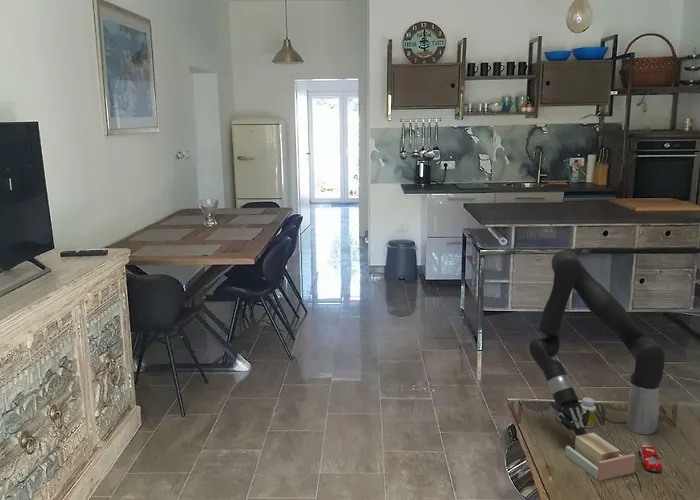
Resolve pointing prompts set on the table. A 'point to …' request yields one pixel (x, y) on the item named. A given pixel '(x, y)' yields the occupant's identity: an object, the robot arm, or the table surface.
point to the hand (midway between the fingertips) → (583, 440)
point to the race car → (650, 458)
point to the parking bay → (604, 465)
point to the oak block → (595, 448)
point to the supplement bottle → (589, 405)
